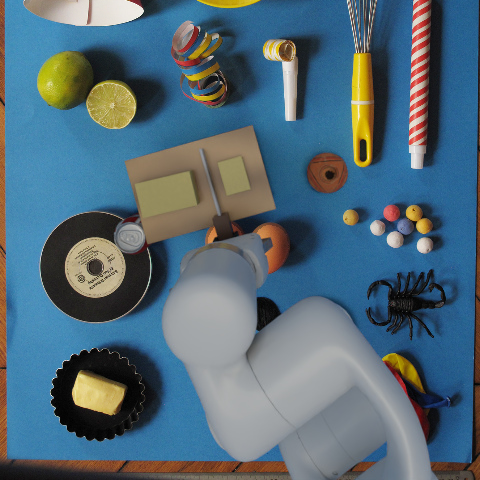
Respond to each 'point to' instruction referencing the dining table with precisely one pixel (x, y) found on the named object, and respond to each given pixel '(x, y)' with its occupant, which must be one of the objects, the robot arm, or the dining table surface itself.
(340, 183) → the pot
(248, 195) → the cutting board
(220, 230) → the knife
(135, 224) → the soda can
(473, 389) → the dining table surface
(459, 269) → the dining table surface
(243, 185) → the butter slice
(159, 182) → the butter block
